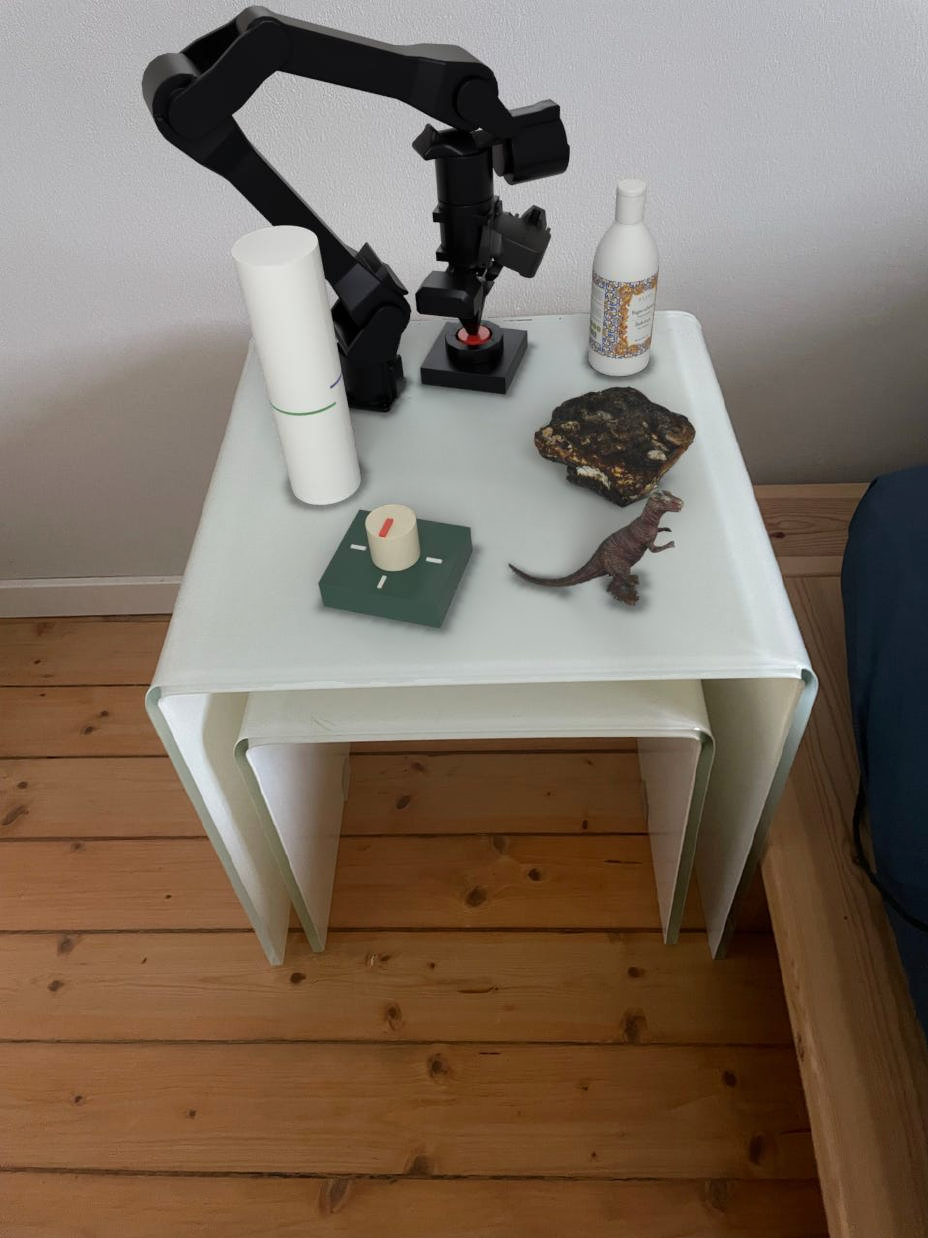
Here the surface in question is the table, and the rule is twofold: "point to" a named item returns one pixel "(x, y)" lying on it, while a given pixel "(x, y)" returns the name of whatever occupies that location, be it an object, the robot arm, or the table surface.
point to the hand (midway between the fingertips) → (473, 333)
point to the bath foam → (624, 287)
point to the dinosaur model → (621, 551)
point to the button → (472, 339)
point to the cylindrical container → (299, 359)
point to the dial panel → (398, 575)
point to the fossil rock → (615, 442)
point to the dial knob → (393, 537)
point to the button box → (475, 359)
